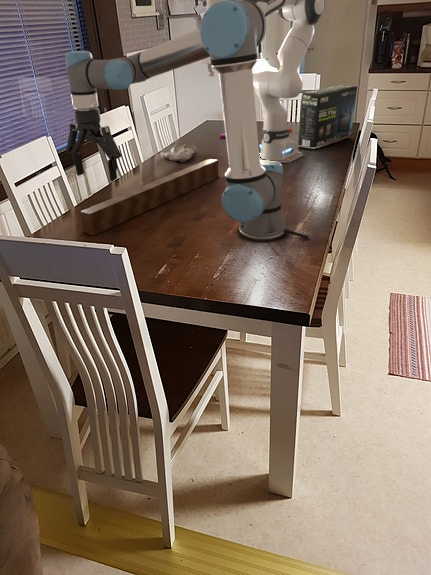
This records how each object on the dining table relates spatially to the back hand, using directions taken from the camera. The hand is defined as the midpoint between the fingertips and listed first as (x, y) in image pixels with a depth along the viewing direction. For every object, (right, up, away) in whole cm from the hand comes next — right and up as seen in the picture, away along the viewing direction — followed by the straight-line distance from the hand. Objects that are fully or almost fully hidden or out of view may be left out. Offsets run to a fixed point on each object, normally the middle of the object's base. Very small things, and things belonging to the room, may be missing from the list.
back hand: (219, 77), depth 183 cm
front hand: (-40, -48, -33) cm, 71 cm away
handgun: (+7, -1, +76) cm, 76 cm away
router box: (+57, -7, +62) cm, 85 cm away
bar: (-23, -51, -5) cm, 56 cm away
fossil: (-20, -19, +47) cm, 55 cm away
